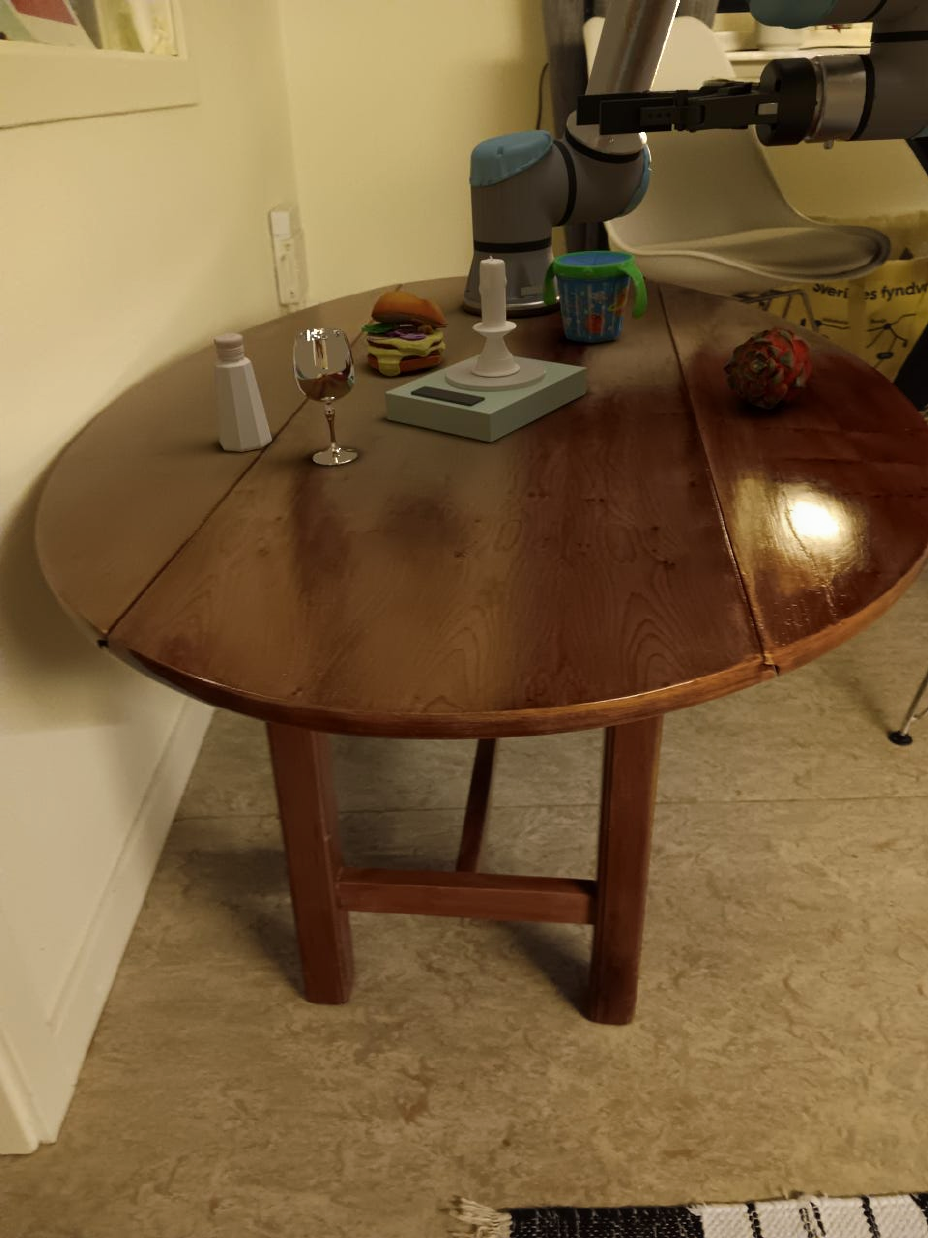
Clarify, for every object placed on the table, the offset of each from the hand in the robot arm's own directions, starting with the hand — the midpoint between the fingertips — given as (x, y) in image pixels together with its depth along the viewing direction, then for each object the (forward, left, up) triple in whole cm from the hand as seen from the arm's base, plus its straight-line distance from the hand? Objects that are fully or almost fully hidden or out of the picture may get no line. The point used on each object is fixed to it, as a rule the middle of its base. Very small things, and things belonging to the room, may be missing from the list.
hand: (587, 114), depth 92 cm
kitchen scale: (+8, -7, -28) cm, 30 cm away
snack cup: (-22, -12, -28) cm, 38 cm away
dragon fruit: (-8, +18, -28) cm, 34 cm away
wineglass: (+28, -11, -28) cm, 41 cm away
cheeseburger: (0, -26, -28) cm, 39 cm away
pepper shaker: (+30, -22, -28) cm, 47 cm away
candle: (+6, -7, -25) cm, 26 cm away
